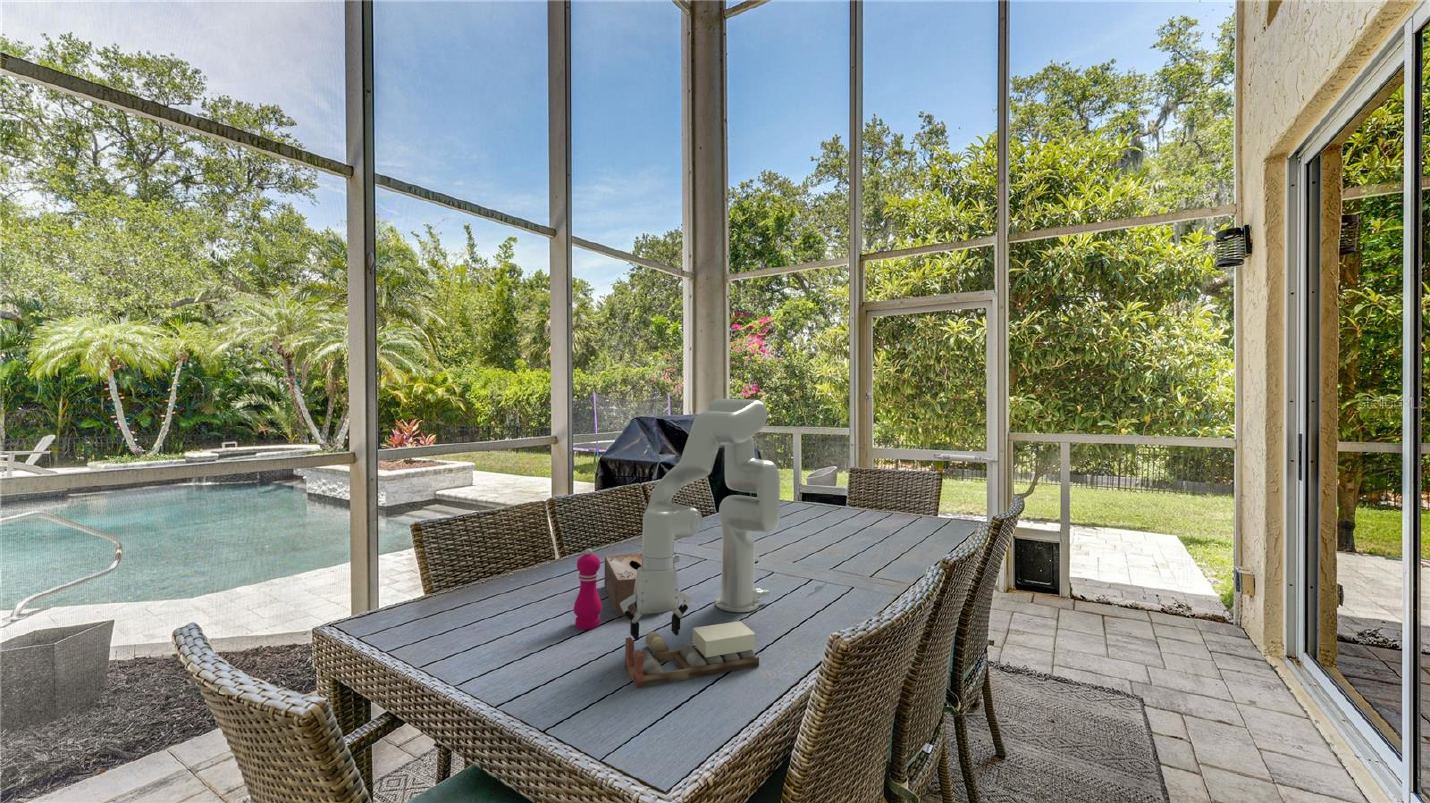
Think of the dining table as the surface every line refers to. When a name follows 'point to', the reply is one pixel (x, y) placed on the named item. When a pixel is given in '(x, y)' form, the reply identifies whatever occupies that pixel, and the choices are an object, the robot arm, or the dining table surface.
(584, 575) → the pepper mill
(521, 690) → the dining table surface
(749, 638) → the slab
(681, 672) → the track
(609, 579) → the tissue box cover
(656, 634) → the roller
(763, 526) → the robot arm
